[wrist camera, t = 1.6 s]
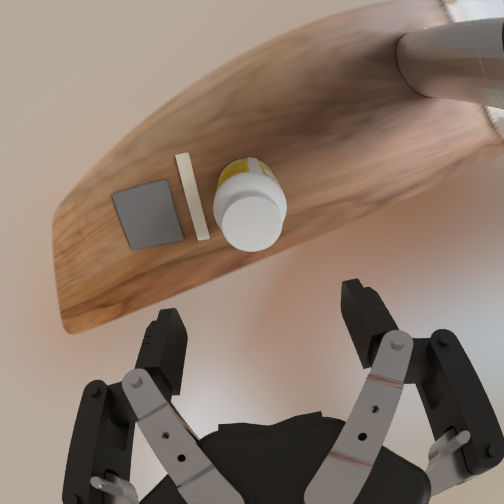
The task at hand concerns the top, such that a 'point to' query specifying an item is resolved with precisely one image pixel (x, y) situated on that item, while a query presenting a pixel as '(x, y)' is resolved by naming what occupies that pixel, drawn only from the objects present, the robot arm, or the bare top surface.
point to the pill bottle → (249, 204)
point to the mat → (148, 215)
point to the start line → (192, 195)
